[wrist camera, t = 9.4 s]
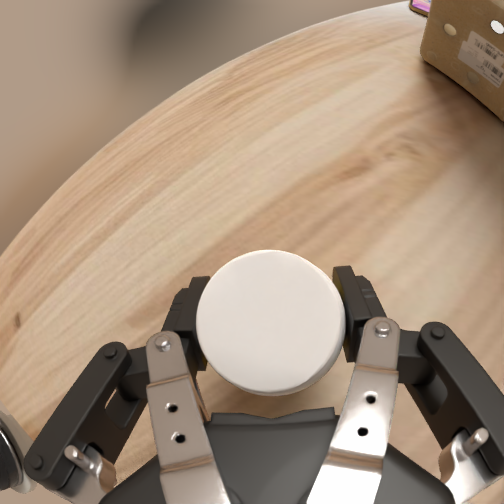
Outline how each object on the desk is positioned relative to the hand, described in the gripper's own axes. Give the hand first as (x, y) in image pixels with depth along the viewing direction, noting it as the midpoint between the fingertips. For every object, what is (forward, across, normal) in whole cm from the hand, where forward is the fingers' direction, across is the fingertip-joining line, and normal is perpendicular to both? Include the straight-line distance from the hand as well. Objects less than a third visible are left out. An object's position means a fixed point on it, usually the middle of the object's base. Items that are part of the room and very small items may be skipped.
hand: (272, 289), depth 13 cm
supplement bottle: (+2, 0, +5) cm, 5 cm away
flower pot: (+11, -21, -14) cm, 28 cm away
